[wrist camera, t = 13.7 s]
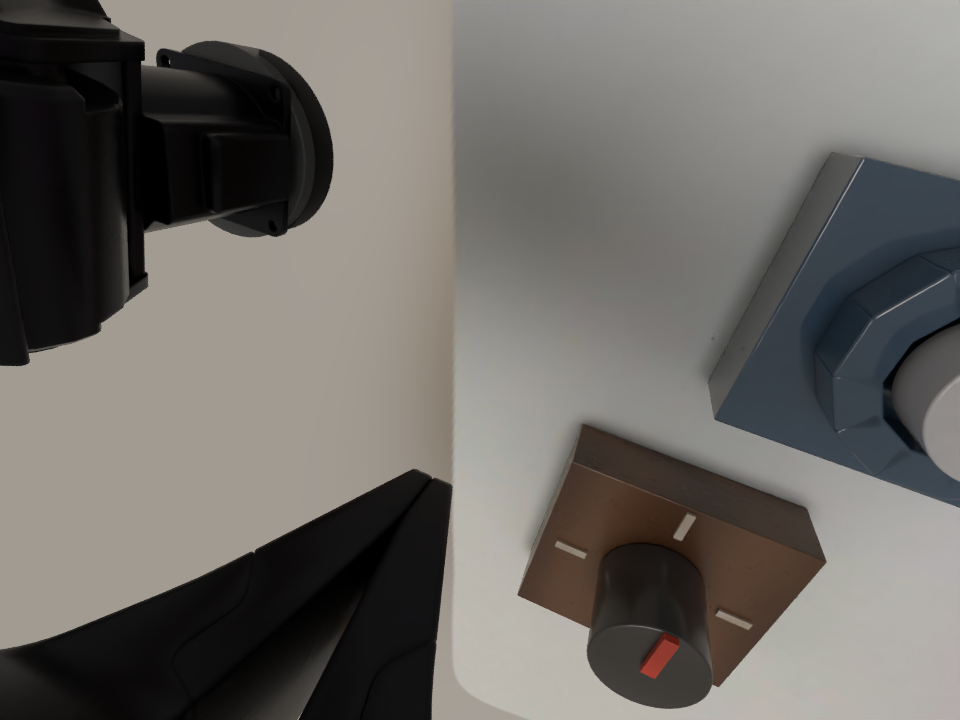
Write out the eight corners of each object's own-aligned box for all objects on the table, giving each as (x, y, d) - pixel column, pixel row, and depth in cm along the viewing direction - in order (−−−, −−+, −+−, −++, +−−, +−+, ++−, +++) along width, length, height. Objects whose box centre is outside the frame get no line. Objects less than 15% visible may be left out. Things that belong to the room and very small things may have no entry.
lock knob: (678, 633, 22) (681, 735, 18) (584, 591, 23) (569, 680, 19) (724, 572, 20) (737, 672, 16) (619, 527, 21) (610, 613, 17)
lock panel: (530, 551, 27) (516, 598, 24) (582, 423, 23) (571, 463, 20) (713, 631, 25) (719, 691, 23) (807, 509, 21) (828, 565, 18)
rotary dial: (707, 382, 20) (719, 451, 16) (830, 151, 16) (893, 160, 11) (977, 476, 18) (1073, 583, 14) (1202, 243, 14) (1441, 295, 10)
